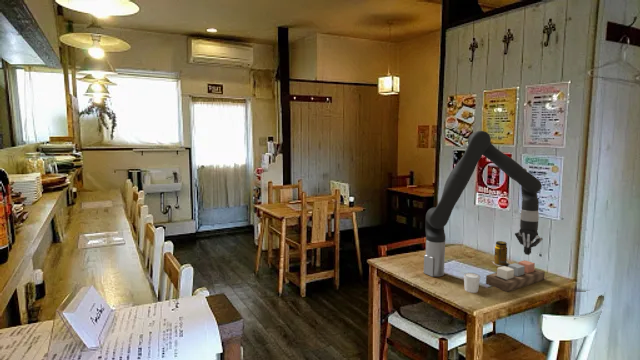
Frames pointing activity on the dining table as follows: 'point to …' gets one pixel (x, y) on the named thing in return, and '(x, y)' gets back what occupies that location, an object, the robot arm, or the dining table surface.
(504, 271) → the cream block
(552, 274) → the dining table surface
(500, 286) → the brown wooden tray
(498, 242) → the condiment
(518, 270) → the slate key
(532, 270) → the terracotta key
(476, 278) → the white cup
